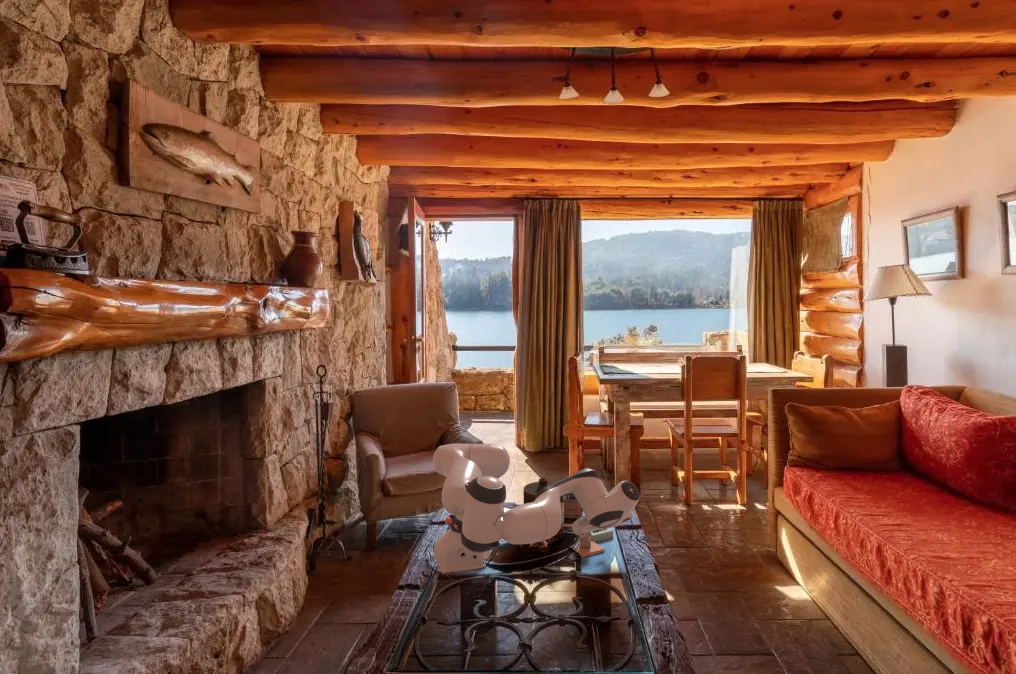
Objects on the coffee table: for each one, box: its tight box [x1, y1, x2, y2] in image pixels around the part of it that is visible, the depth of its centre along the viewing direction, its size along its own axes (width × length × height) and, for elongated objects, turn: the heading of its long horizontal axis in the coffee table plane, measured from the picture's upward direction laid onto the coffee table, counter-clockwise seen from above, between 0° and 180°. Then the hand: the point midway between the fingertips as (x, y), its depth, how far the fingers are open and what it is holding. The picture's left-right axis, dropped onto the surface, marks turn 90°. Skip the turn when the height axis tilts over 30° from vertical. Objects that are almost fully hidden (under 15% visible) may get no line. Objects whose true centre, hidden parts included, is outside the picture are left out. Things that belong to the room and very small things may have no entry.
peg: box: [578, 532, 591, 549], centre depth 211 cm, size 4×4×8 cm
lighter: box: [563, 492, 583, 519], centre depth 241 cm, size 8×3×10 cm, turn 84°
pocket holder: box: [591, 528, 614, 543], centre depth 223 cm, size 9×9×2 cm
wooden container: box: [522, 476, 565, 535], centre depth 222 cm, size 15×15×22 cm
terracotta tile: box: [577, 541, 605, 558], centre depth 212 cm, size 9×9×1 cm
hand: (591, 531), depth 209 cm, fingers open, 8 cm apart
